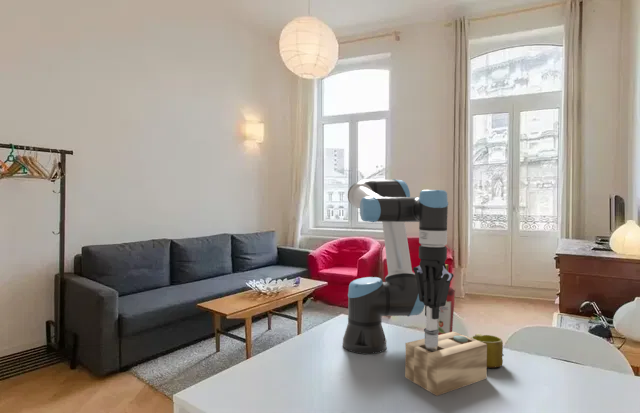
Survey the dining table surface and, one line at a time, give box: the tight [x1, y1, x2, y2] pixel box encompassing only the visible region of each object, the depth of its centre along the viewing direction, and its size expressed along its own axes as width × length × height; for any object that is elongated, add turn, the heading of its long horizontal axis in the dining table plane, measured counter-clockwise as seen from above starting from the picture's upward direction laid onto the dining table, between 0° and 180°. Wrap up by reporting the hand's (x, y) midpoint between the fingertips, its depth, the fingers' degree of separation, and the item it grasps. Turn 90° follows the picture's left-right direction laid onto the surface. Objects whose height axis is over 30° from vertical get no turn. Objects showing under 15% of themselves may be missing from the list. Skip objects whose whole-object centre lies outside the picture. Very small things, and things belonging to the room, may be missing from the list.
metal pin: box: [423, 327, 439, 352], centre depth 108 cm, size 4×4×9 cm
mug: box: [470, 333, 504, 369], centre depth 123 cm, size 12×10×10 cm
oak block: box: [404, 331, 488, 397], centre depth 112 cm, size 12×20×10 cm, turn 120°
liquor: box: [437, 263, 456, 335], centre depth 139 cm, size 7×7×28 cm
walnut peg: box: [453, 335, 468, 344], centre depth 115 cm, size 4×4×9 cm
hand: (431, 329), depth 108 cm, fingers closed
